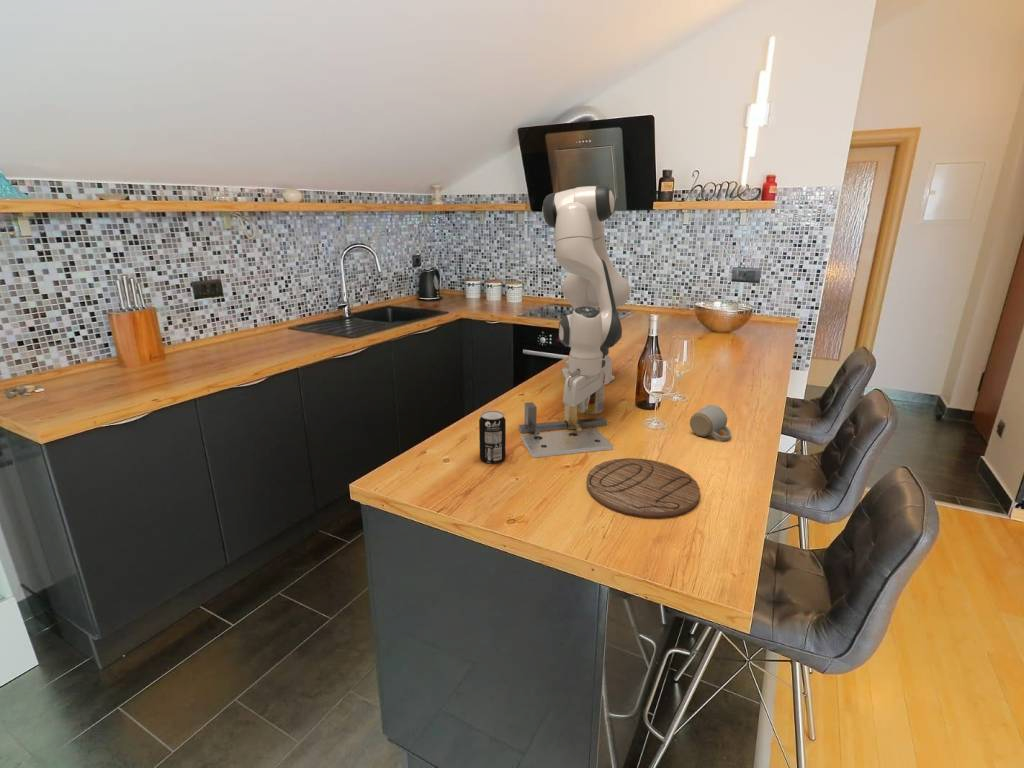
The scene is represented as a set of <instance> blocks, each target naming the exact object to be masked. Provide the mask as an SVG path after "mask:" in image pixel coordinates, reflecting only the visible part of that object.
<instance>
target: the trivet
mask: <svg viewBox="0 0 1024 768" xmlns="http://www.w3.org/2000/svg"><path fill="white" fill-rule="evenodd" d="M700 489H701V488H700V485H699V484H698V482H697V481H696V480H695V479H694V478H693V477H692V476H691V475H690V474H689V473H687V472H685V471H684V470H682V469H680V468H678V467H676V466H673V465H670V464H669V463H665V462H661V461H657V460H652V459H645V458H635V457H634V458H631V457H629V458H628V457H626V458H616V459H612V460H611V459H610V460H607V461H603V462H601V463H599V464H596V465H595V466H594V467H593V468H591V469H590V470H589V471H588V474H587V476H586V490H587V492H588V494H589V496H590V497H591V498H592V499H593V500H594V501H596V502H597V503H598V504H599V505H601V506H602V507H604V508H607V509H609V510H610V511H612V512H616V513H618V514H621V515H625V516H628V517H633V518H638V519H639V518H640V519H653V520H654V519H656V520H661V519H669V518H672V519H673V518H675V517H679V516H683V515H687V514H688V513H689V512H690V511H692V510H693V509H694V510H695V508H696V506H697V505H698V503H699V502H700V493H701V491H700Z"/></svg>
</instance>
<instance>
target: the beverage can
mask: <svg viewBox="0 0 1024 768" xmlns="http://www.w3.org/2000/svg"><path fill="white" fill-rule="evenodd" d="M506 421H507V420H506V418H505V414H504V413H503V411H499V410H486V411H483V412H482V413H480V418H479V419H478V424H479V425H478V430H479V436H478V438H479V457H480V460H482V461H483V462H485V463H488V464H497V463H501V462H502V461H503V460H504V459H505V458H506V455H507V454H506V453H507V451H506V447H507V445H506V443H507V442H506V441H507V439H506V435H507V434H506V431H507V430H506V424H507V423H506Z"/></svg>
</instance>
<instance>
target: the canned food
mask: <svg viewBox="0 0 1024 768" xmlns="http://www.w3.org/2000/svg"><path fill="white" fill-rule="evenodd" d="M604 383H605V373H604V378H603V384H602V387H601V388H600V389H599V390H597V391H596V392H595V393H593V394H592V395H590V400H589V403H588V409H587V410H586V411H585V412H583V413H582V414H587V415H598V414H600V413H602V412H603V411H604V398H605V385H604Z"/></svg>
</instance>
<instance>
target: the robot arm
mask: <svg viewBox="0 0 1024 768" xmlns="http://www.w3.org/2000/svg"><path fill="white" fill-rule="evenodd" d="M614 209H615V196H614V194H613V191H612V189H611V188H610V187H609V186H608V185H606V184H605V185H604V184H596V185H590V186H589V185H587V186H578V187H575V188H570V189H566V190H562V191H558V192H552V193H550V194H547V195H546V196H545V198H544V199H543V202H542V210H541V211H542V216H543V218H544V221H545V223H546V224H547V225H548V226H549V227H550V228H554V248H555V249H554V250H555V256H556V260H557V262H558V264H559V266H561V268H562V269H564V270H565V271H566V272H569V273H568V274H567V275H566V276H565V277H564V278H563V279H564V280H563V281H562V283H561V292H562V296H563V297H564V298H565V299H566V300H567V302H568V303H569V304H570V307H571V308H572V309H573V311H572V313H570V314H567V315H564V316H563V317H562V318H561V319H560V321H559V322H558V341H559V342H561V344H562V345H564V346H565V347H570V351H569V356H568V360H566V361H564V364H565V368H561V374H562V376H563V379H564V381H565V382H564V388H563V395H562V398H563V399H562V403H563V404H564V406H565V405H569V406H576V405H577V413H582V414H584V413H583V412H585V411H586V410H587V409H588V403H589V400H590V395H592V394H593V393H595V392H596V391H597V390H599V389H600V388H601V387H602V384H603V378H604V373H605V383H604V386H607V385H608V384H610V383H611V381H614V380H615V379H616V378H615V376H614V375H613V373H612V370H613V368H612V363H613V362H612V358H611V356H610V355H609V354H610V348H612V347H614V346H615V345H617V343H618V342H619V341H620V340H621V338H622V337H623V336H622V335H623V328H622V327H623V326H622V324H621V320H620V319H621V318H620V317H619V314H618V310H617V307H623V306H624V305H625V304H627V302H628V300H629V298H630V295H631V286H630V283H629V281H628V280H627V279H626V278H625V277H623V276H622V275H621V274H620V273H619V272H618V271H617V270H616V268H615V267H614V266H613V263H612V261H611V259H610V257H609V254H608V250H607V249H608V248H607V245H606V237H605V230H604V224H603V222H604V221H606V220H608V219H610V218H611V217H612V215H613V213H614Z"/></svg>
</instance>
